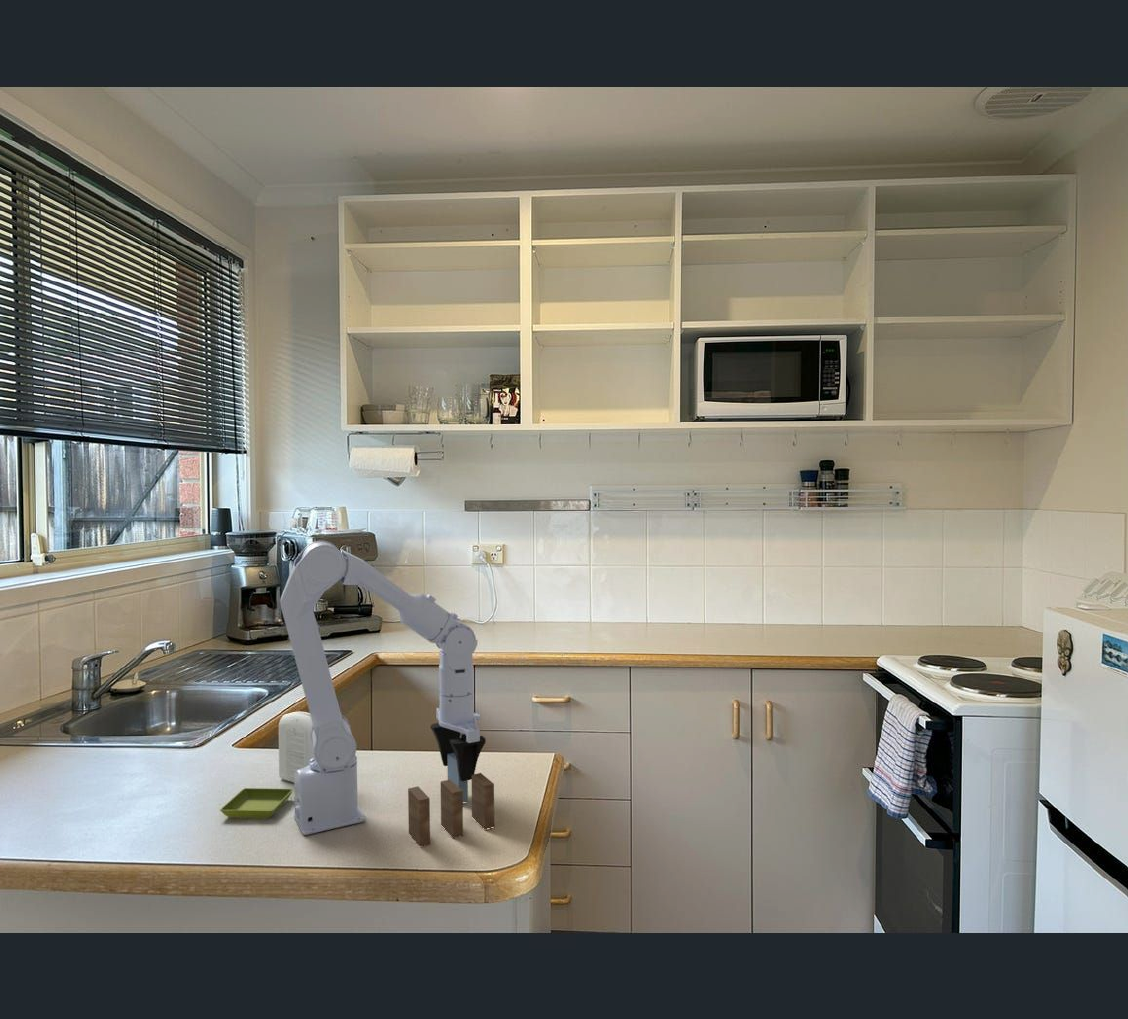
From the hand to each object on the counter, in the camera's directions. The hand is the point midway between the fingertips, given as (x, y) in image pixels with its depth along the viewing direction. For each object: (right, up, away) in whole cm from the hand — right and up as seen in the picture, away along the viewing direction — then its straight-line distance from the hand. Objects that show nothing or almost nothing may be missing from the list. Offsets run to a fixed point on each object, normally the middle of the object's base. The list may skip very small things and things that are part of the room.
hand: (457, 771), depth 128 cm
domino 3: (+5, -5, -9) cm, 11 cm away
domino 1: (-4, -5, -14) cm, 16 cm away
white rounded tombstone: (-29, -5, +8) cm, 30 cm away
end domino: (0, -5, 0) cm, 5 cm away
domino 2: (+1, -5, -12) cm, 13 cm away
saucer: (-32, -6, -3) cm, 33 cm away
